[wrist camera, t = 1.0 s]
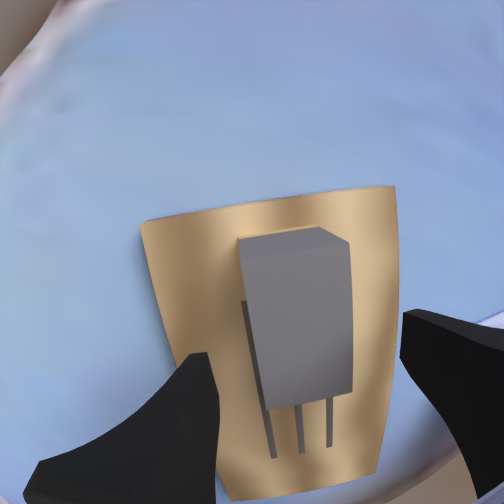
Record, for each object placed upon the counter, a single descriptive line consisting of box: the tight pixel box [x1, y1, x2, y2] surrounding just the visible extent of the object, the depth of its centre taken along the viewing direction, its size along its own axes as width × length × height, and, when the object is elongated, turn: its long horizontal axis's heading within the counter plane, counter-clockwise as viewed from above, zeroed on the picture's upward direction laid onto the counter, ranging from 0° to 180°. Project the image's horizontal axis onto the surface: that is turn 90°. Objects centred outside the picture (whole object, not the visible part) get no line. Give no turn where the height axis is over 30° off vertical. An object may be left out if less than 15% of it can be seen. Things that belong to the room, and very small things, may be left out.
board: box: [140, 186, 399, 501], centre depth 19 cm, size 14×26×2 cm, turn 9°
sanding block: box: [238, 224, 353, 410], centre depth 14 cm, size 4×7×5 cm, turn 9°
